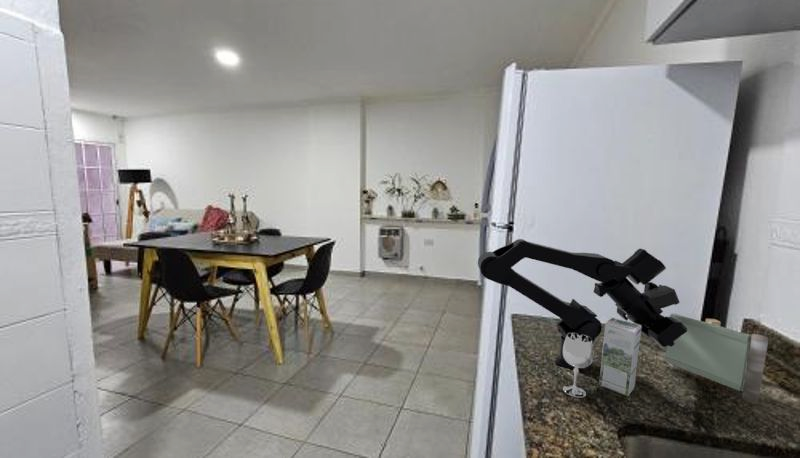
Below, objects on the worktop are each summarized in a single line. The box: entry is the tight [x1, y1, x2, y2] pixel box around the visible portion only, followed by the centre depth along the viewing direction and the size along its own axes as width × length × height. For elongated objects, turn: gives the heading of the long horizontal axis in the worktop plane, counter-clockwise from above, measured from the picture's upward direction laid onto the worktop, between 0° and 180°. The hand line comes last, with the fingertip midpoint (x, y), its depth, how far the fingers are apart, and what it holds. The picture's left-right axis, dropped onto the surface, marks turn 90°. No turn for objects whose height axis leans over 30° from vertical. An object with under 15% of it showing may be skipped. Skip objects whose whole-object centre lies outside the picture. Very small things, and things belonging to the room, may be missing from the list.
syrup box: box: [598, 317, 642, 397], centre depth 75 cm, size 6×6×14 cm
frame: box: [704, 318, 769, 405], centre depth 79 cm, size 17×4×14 cm, turn 173°
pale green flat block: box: [664, 313, 752, 392], centre depth 79 cm, size 14×2×12 cm, turn 28°
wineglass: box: [562, 333, 595, 399], centre depth 73 cm, size 6×6×12 cm
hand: (672, 344), depth 83 cm, fingers closed
